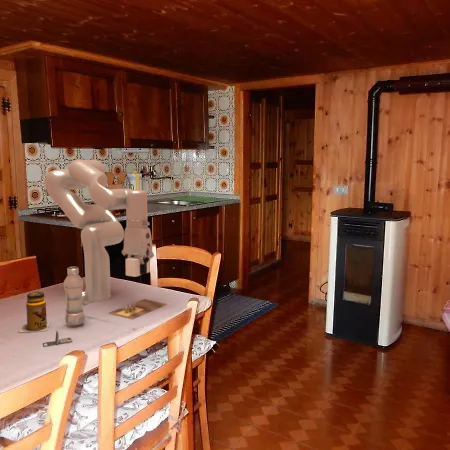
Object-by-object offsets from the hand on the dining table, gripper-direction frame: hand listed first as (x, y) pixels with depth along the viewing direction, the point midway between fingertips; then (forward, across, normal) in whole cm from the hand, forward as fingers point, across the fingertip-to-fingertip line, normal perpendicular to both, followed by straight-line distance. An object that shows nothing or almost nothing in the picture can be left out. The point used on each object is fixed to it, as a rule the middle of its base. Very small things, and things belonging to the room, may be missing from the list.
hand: (137, 272), depth 162 cm
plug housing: (0, 0, 0) cm, 0 cm away
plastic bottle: (+16, +11, +20) cm, 28 cm away
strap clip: (+16, +4, +34) cm, 38 cm away
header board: (+15, 0, 0) cm, 15 cm away
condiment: (+16, +21, +29) cm, 39 cm away
